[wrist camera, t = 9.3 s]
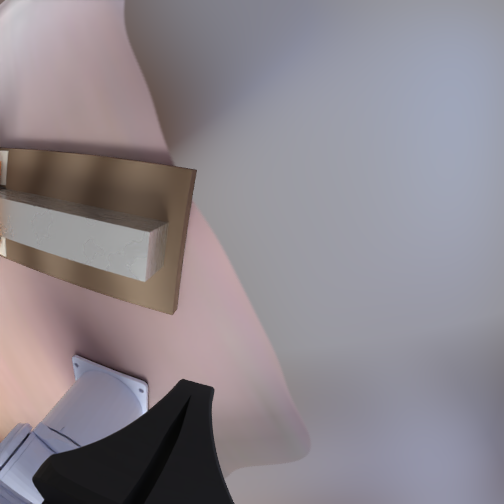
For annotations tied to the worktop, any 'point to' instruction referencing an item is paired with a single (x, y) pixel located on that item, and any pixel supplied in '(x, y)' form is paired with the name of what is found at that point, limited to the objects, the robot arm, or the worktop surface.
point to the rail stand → (97, 222)
